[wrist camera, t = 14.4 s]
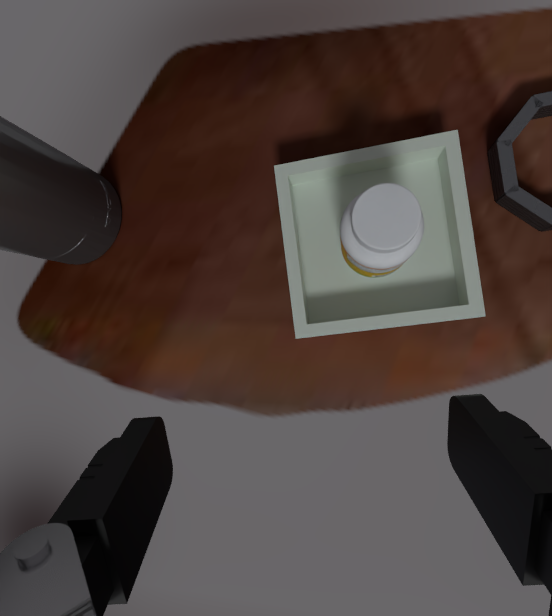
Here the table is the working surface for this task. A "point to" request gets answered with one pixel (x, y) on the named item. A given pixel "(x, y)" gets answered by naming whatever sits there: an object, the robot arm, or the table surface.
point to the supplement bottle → (381, 230)
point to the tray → (413, 273)
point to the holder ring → (505, 170)
